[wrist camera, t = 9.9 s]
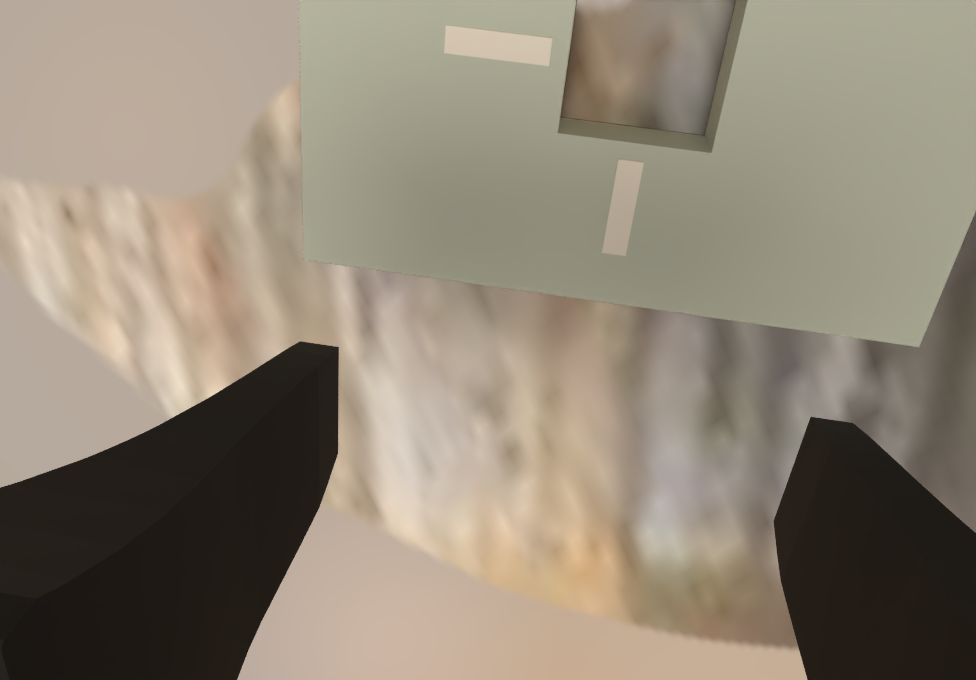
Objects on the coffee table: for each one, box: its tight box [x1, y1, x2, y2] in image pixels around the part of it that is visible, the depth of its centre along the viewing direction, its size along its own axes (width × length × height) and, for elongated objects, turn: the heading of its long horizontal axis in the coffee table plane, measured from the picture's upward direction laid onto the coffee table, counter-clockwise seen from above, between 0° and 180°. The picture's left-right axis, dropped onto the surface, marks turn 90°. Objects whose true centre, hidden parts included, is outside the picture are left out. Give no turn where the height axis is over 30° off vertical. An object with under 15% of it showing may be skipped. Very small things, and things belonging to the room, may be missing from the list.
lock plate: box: [299, 0, 976, 347], centre depth 19 cm, size 16×12×2 cm
